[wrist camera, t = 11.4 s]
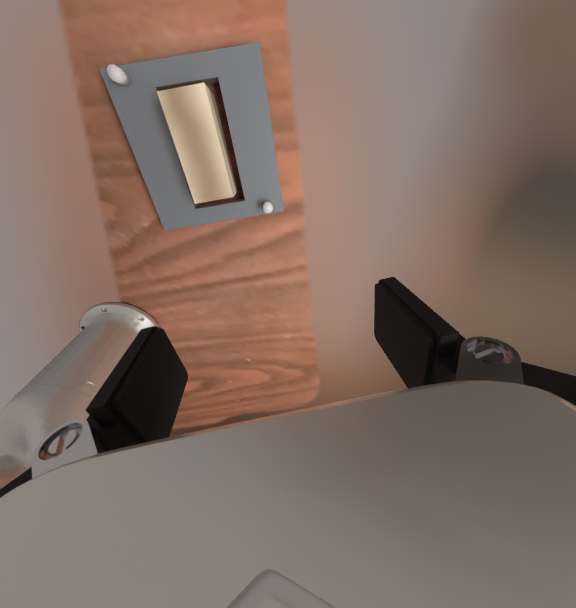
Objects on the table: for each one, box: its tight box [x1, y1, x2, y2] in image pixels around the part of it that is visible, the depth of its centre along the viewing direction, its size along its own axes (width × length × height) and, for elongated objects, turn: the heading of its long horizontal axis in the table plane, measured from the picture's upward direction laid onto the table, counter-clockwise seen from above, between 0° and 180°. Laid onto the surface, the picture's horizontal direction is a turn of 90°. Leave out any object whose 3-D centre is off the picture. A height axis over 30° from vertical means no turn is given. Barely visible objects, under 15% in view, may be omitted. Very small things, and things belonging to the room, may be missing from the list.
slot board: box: [100, 42, 284, 231], centre depth 29 cm, size 16×16×4 cm
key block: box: [157, 83, 238, 204], centre depth 28 cm, size 4×10×6 cm, turn 9°
